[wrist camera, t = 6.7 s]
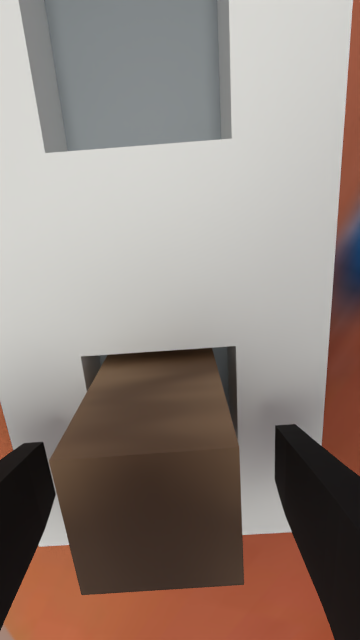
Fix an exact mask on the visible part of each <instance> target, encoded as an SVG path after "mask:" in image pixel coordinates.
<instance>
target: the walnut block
mask: <svg viewBox="0 0 360 640" xmlns="http://www.w3.org/2000/svg"><path fill="white" fill-rule="evenodd" d="M49 464H50V468H51V472H52V476H53V480H54V485H55V489H56V493H57V497H58V501H59V505H60V509H61V513H62V517H63V521H64V525H65V529H66V533H67V538H68V542H69V546H70V550H71V554H72V558H73V562H74V566H75V570H76V574H77V578H78V582H79V586H80V591H81V595H90V594H106V593H121V592H137V591H153V590H168V589H184V588H200V587H215V586H231V585H244V570H243V541H242V511H241V482H240V452H239V444H238V441H237V437H236V433H235V430H234V426H233V422H232V419H231V415H230V411H229V408H228V404H227V401H226V397H225V393H224V390H223V386H222V382H221V379H220V375H219V372H218V368H217V364H216V361H215V357H214V353H213V350H212V348H199V349H184V350H170V351H155V352H140V353H125V354H110V355H107V357H106V359H105V360H104V362H103V364H102V366H101V368H100V369H99V371H98V373H97V375H96V377H95V378H94V380H93V382H92V384H91V386H90V387H89V389H88V391H87V393H86V395H85V396H84V398H83V400H82V402H81V404H80V405H79V407H78V409H77V411H76V413H75V414H74V416H73V418H72V420H71V422H70V423H69V425H68V427H67V429H66V431H65V433H64V434H63V436H62V438H61V440H60V442H59V443H58V445H57V447H56V449H55V451H54V452H53V454H52V456H51V458H50V460H49Z"/></svg>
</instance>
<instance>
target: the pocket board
mask: <svg viewBox="0 0 360 640" xmlns="http://www.w3.org/2000/svg"><path fill="white" fill-rule="evenodd" d="M352 5H353V0H0V402H1V406H2V409H3V413H4V417H5V421H6V424H7V428H8V432H9V436H10V439H11V443H12V447H13V450H15V449H16V448H17V447H19V446H20V445H22V444H23V443H31V442H43V443H44V447H45V451H46V455H47V460H48V464H49V460H50V458H51V456H52V454H53V452H54V451H55V449H56V447H57V445H58V443H59V442H60V440H61V438H62V436H63V434H64V433H65V431H66V429H67V427H68V425H69V423H70V422H71V420H72V418H73V416H74V414H75V413H76V411H77V409H78V407H79V405H80V404H81V402H82V400H83V398H84V396H85V395H86V393H87V391H88V389H89V387H90V386H91V384H92V382H93V380H94V378H95V377H96V375H97V373H98V371H99V369H100V368H101V366H102V364H103V362H104V360H105V359H106V357H107V355H110V354H125V353H140V352H155V351H170V350H184V349H199V348H212V350H213V353H214V357H215V361H216V364H217V368H218V372H219V375H220V379H221V382H222V386H223V390H224V393H225V397H226V401H227V404H228V408H229V411H230V415H231V419H232V422H233V426H234V430H235V433H236V437H237V441H238V444H239V452H240V482H241V511H242V535H249V534H266V533H284V532H292V531H291V528H290V526H289V524H288V521H287V519H286V516H285V513H284V510H283V507H282V504H281V500H280V497H279V493H278V490H277V486H276V483H275V425H288V424H296V425H297V426H298V427H299V428H301V429H302V430H303V431H304V432H305V433H307V434H308V435H309V436H310V437H311V438H312V439H314V440H315V441H316V442H317V443H318V444H320V445H321V446H322V432H323V417H324V403H325V389H326V375H327V361H328V346H329V332H330V318H331V304H332V289H333V275H334V261H335V247H336V233H337V218H338V204H339V190H340V176H341V162H342V147H343V133H344V119H345V105H346V90H347V76H348V62H349V48H350V34H351V19H352ZM49 468H50V464H49ZM50 472H51V468H50ZM51 476H52V472H51ZM52 480H53V476H52ZM53 484H54V480H53ZM54 489H55V485H54ZM55 493H56V489H55ZM38 545H39V547H41V546H58V545H69V542H68V538H67V533H66V529H65V525H64V521H63V517H62V513H61V509H60V505H59V501H58V497H57V493H56V496H55V499H54V502H53V506H52V509H51V512H50V515H49V518H48V521H47V524H46V528H45V530H44V533H43V535H42V537H41V540H40V542H39V544H38Z"/></svg>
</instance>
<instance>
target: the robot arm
mask: <svg viewBox="0 0 360 640" xmlns="http://www.w3.org/2000/svg"><path fill="white" fill-rule="evenodd" d="M275 483H276V486H277V490H278V493H279V497H280V500H281V504H282V507H283V510H284V513H285V516H286V519H287V521H288V524H289V526H290V528H291V531H292V533H293V536H294V538H295V541H296V543H297V545H298V548H299V550H300V553H301V555H302V557H303V560H304V562H305V565H306V567H307V569H308V572H309V574H310V577H311V579H312V581H313V584H314V586H315V589H316V591H317V593H318V596H319V598H320V601H321V603H322V606H323V608H324V611H325V614H326V616H327V619H328V622H329V624H330V627H331V630H332V633H333V636H334V639H335V640H360V476H358V475H357V474H356V473H354V472H353V471H352V470H351V469H349V468H348V467H347V466H345V465H344V464H343V463H342V462H340V461H339V460H338V459H337V458H335V457H334V456H333V455H332V454H330V453H329V452H328V451H327V450H326V449H324V448H323V447H322V446H321V445H320V444H318V443H317V442H316V441H315V440H314V439H312V438H311V437H310V436H309V435H308V434H307V433H305V432H304V431H303V430H302V429H301V428H299V427H298V426H297V425H296V424H288V425H275ZM55 496H56V493H55V489H54V484H53V480H52V476H51V472H50V468H49V464H48V460H47V455H46V451H45V447H44V443H43V442H31V443H23V444H22V445H20V446H19V447H17V448H16V449H15V450H13V451H12V452H10V453H9V454H8V455H6V456H5V457H4V458H3V459H1V460H0V630H1V628H2V625H3V623H4V620H5V618H6V616H7V614H8V611H9V609H10V607H11V605H12V603H13V600H14V598H15V596H16V594H17V591H18V589H19V587H20V585H21V582H22V580H23V578H24V576H25V574H26V571H27V569H28V567H29V565H30V562H31V560H32V558H33V556H34V553H35V551H36V549H37V547H38V544H39V542H40V540H41V537H42V535H43V533H44V530H45V528H46V524H47V521H48V518H49V515H50V512H51V509H52V506H53V502H54V499H55Z"/></svg>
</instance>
